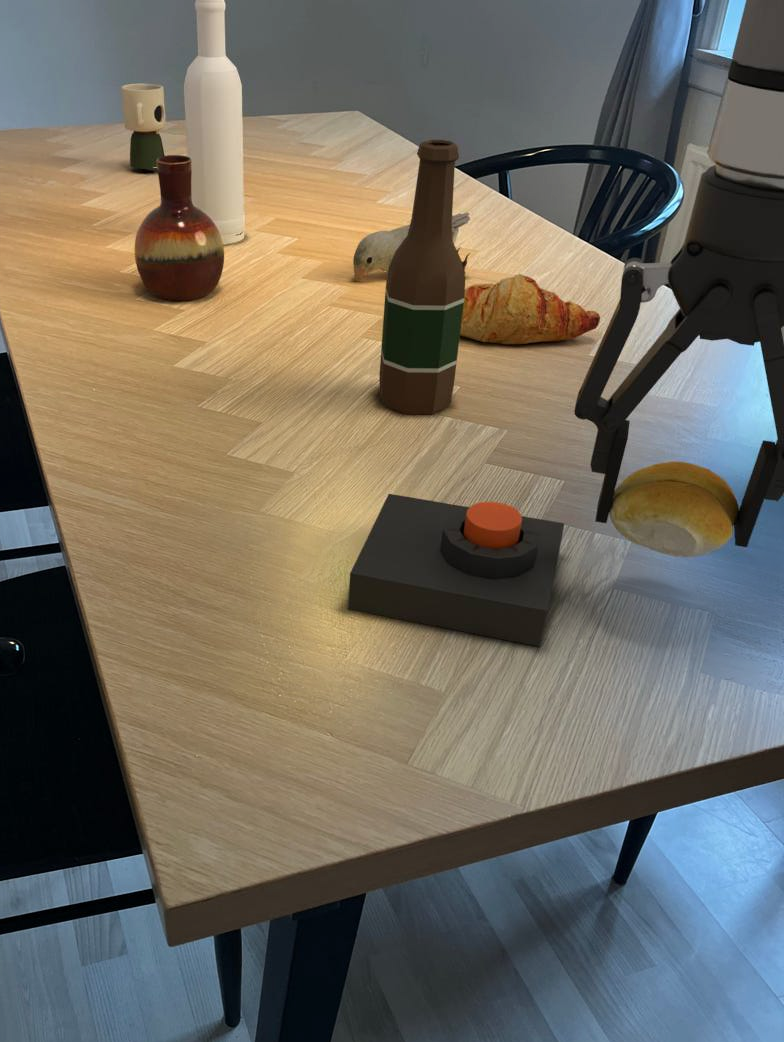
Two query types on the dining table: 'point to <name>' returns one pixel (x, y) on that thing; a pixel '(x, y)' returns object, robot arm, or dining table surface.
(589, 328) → the croissant
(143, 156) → the character mug
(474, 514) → the orange button cap
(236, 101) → the bottle
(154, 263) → the vase
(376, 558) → the push button switch
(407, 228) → the decorative bird
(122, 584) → the dining table surface
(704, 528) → the bread roll
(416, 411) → the beer bottle
